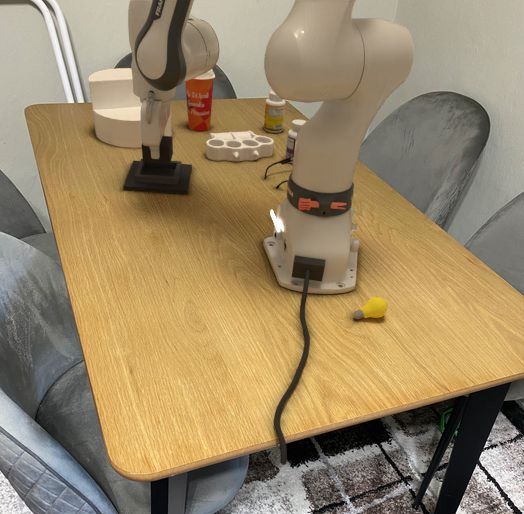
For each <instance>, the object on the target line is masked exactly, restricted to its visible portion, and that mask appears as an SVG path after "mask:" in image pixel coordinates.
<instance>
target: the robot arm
mask: <svg viewBox="0 0 524 514" xmlns="http://www.w3.org/2000/svg"><path fill="white" fill-rule="evenodd" d="M356 1H357V0H294V3H293V5H292V7H291V9H290V11H289V12H288V14H287V16H286V18H285V19H284V20H283V21H282V22H281V24H280V25H279V26H278V27H277V28H276V29H275V30H274V31H273V33H272V34H271V35H270V37H269V40H268V42H267V44H266V47H265V53H264V59H263V69H264V74H265V78H266V81H267V84H268V85H269V87H270V89H271V91H272V90H273V92H274V93H275V94H276V95H277V96H278V97H279V98H281V99H284V100H285V101H286V100H287V101H291V102H297V103H304V104H310V103H311V104H312V103H320V102H322V103H321V105H320V107H318V110H317V111H316V112H315V113H314V114H313V115H312V117H310V118H309V119H308V120H306V121H307V122H305V123H304V124H303V125H302V127H301V128H300V130H299V131H298V134H297V137H296V142H295V151H294V159H293V164H292V167H291V173H290V174H289V176H288V179H287V180H288V182H286V183H287V184H286V197H285V199H284V200H282V201H281V202H280V203H279V204H278V205H277V207H276V213H274V210H273V209H270V217H271V219H272V221H273V224H274V226H273V234H272V235H271V236H268V237H266V238H264V240H263V243H262V245H263V248H264V251H265V253H266V256H267V259H268V260H269V263H270V266H271V268H272V270H273V273H274V275H275V278H276V281H277V282H278V284H279V285H280V286H281V287H282V288H285V289H288V290H292V291H295V292H299V293H302V294H301V298H300V299H301V300H300V307H299V319H300V324H301V327H302V331H303V335H304V343H303V351H302V355H301V358H300V360H299V362H298V366H297V368H296V370H295V373H294V375H293V378H292V380H291V382H290V384H289V386H288V388H287V389H286V390H285V392H284V394H283V396H282V397H281V399H280V400H279V402H278V404H277V406H276V409H275V412H274V417H273V427H274V431H275V434H276V437H277V439H278V440H277V441H278V444H279V451H280V459H279V462H280V465H282V466H285V465H286V464H287V462H288V448H287V442H286V439H285V436H284V434H283V433H284V432H283V431H282V427H281V417H282V412H283V410H284V407H285V405H286V403H287V401H288V399H289V398H290V396H291V394H292V393H293V392H294V390H295V388H296V387H297V385H298V382H299V381H300V377H301V375H302V372H303V370H304V367H305V365H306V362H307V359H308V356H309V352H310V344H311V337H310V331H309V328H308V324H307V321H306V305H307V304H306V303H307V298H308V294H320V295H322V294H323V295H335V294H336V295H337V294H344V293H349V292H352V291H354V290H355V289H356V284H357V269H358V256H359V248H360V242H361V240H359V239H356V238H354V237H352V232H357V230H358V224H357V223H355V222H354V221H353V220H354V217H355V213H356V209H354V207H352V204H353V198H354V193H355V192H354V188H355V182H354V177H355V173H356V168H357V163H358V161H359V156H360V152H361V147H362V145H363V142H364V140H365V136H366V134H367V132H368V130H369V129H370V126H371V124H372V122H373V120H374V119H375V117H376V115H377V114H378V112H379V111H380V109H381V108H382V106H383V105H384V103H385V102H386V100H387V99H388V98H389V97H390V96H391V95H392V94H393V93H394V92H395V91H396V90H397V89H398V88H399V87H401V86H403V84H404V83H405V82H406V80H407V79H408V78H409V75H410V74H411V71H412V68H413V65H414V60H415V46H414V40H413V37H412V35H411V33H410V31H409V30H408V28H407V27H406V26H404V25H403V24H402V23H397V22H395V21H392V20H388V19H384V18H380V17H362V18H361V17H358V18H356V17H355V18H353V13H354V8H355V5H356ZM194 2H195V0H129V3H128V10H127V30H128V31H127V32H128V42H129V47H130V49H131V56H132V59H131V65H130V68H131V70H132V82H133V93H134V94H135V95H136V96H138V97H140V102H141V103H142V106H141V113H140V119H141V140H142V144H143V145H144V146H149V147H150V150H151V158H153V159H159V157H160V149H159V145H160V142H161V139H162V136H164V132H165V127H166V124H167V121H168V118H169V115H170V109H171V110H172V98H174V97H176V95H177V87H178V86H180V85H181V84H183V83H185V82H186V81H188V80H191V79H193V78H196V77H197V76H200V75H202V74H204V73H207V72H208V71H210V70H211V69H212V70H213V69H214V68H215V67H216V65H217V63H218V61H219V56H220V43H219V39H218V36H217V33H216V32H215V29H214V28H213V27H212V26H211V24H210V23H208V22H207V21H206V20H204V19H200V18H198V17H196V16H195V15H192V14H191V10H192V9H193V6H194Z"/></svg>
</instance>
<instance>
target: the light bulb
mask: <svg viewBox="0 0 524 514" xmlns="http://www.w3.org/2000/svg"><path fill="white" fill-rule="evenodd" d="M387 311H388V303H387V301H386V300H385V299H384V298H383V297H377V296H374V297H371V298H370V299H368V301H366V303H365V304H364V305H363V306H362V307H361V308H360V309H358V310H356V311H354V313H353V319H355V320H360V319H363V318H364V319H368V318H372V319H373V318H374V319H375V318H376V319H378V318H382V317H383V316H385V315H386V314H387Z"/></svg>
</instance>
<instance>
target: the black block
mask: <svg viewBox="0 0 524 514" xmlns="http://www.w3.org/2000/svg"><path fill="white" fill-rule="evenodd" d="M159 149H160V157H159V159H153V158H151V150H150V147H149V146H144V145H143V144H142V147H141V155H142V158H141V159H143V163H156V164H169V165H170V163H171V161H172V159H173V155H174V145H173V135H171V136H162V139H161V142H160V145H159Z"/></svg>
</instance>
